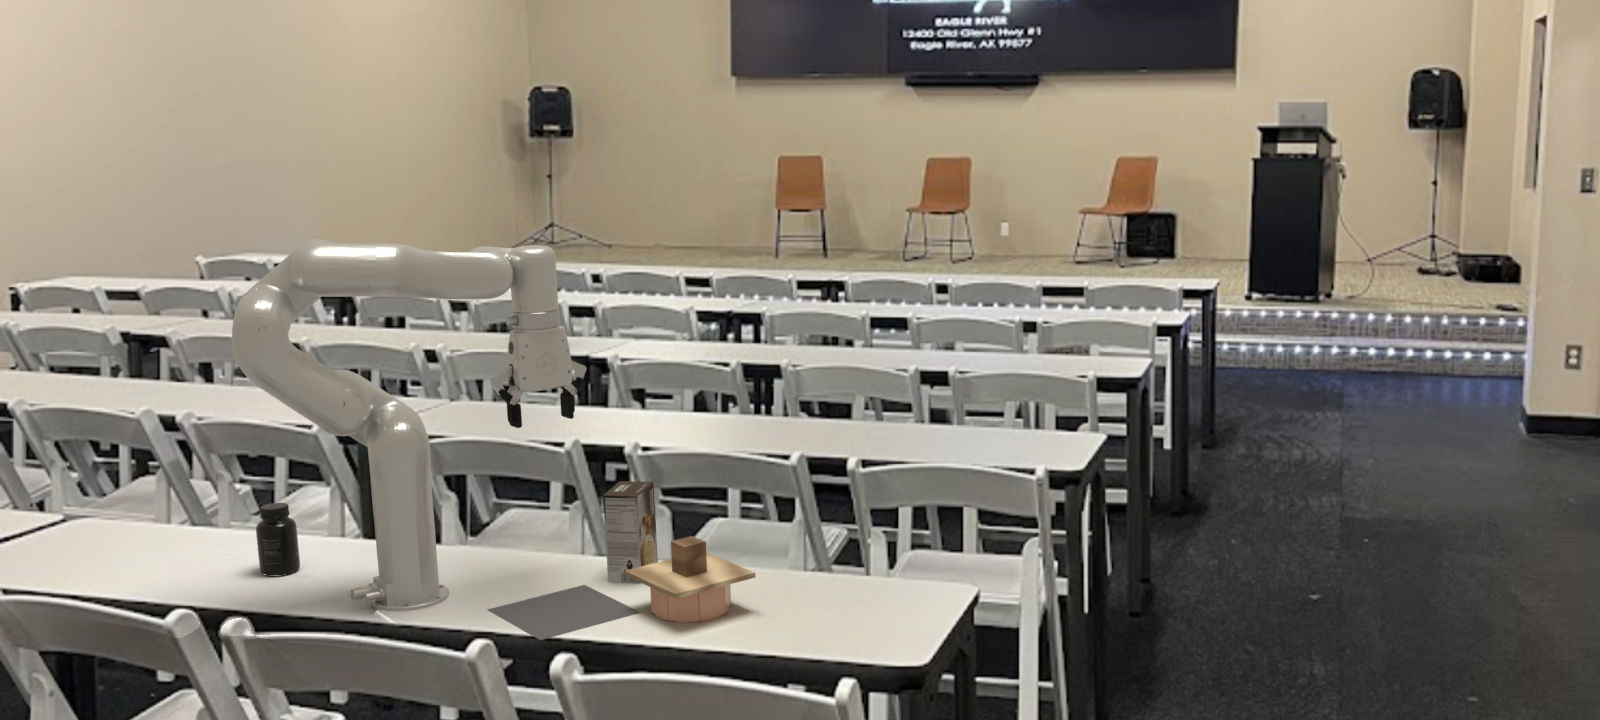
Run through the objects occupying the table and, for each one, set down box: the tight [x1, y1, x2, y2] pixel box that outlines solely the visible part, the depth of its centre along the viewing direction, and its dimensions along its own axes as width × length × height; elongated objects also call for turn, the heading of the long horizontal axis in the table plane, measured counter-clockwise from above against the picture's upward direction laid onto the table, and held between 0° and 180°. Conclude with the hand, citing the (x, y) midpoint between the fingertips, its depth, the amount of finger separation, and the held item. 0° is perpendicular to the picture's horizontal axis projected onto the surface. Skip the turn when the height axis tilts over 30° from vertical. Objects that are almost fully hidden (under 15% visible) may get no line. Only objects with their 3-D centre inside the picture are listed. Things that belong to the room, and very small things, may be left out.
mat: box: [486, 584, 642, 641], centre depth 246 cm, size 18×18×1 cm
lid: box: [625, 535, 756, 599], centre depth 244 cm, size 15×15×6 cm
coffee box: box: [602, 480, 659, 585], centre depth 261 cm, size 9×6×16 cm
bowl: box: [649, 584, 732, 623], centre depth 245 cm, size 12×12×6 cm
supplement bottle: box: [255, 502, 301, 576], centre depth 271 cm, size 7×7×12 cm
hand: (542, 421), depth 256 cm, fingers open, 9 cm apart
